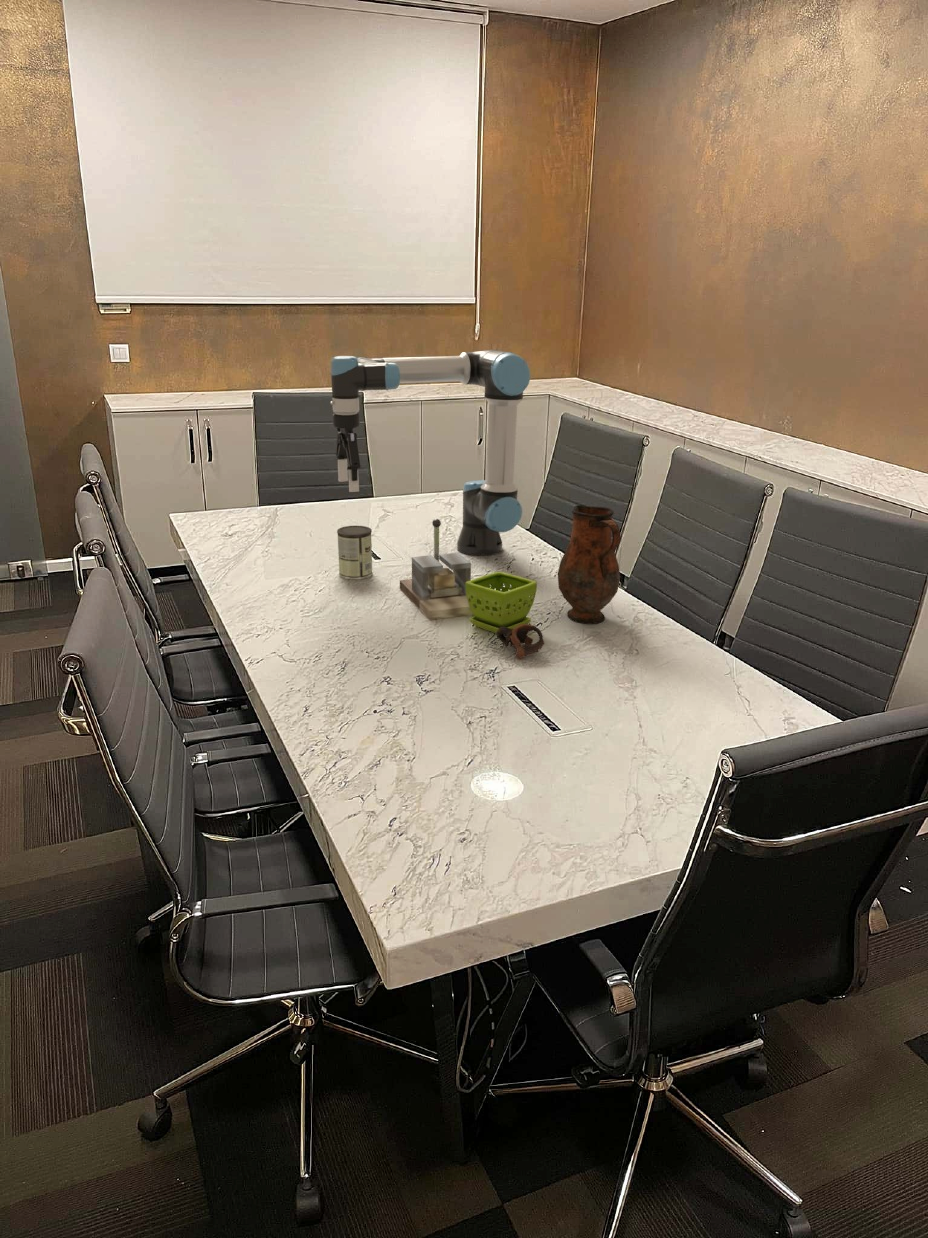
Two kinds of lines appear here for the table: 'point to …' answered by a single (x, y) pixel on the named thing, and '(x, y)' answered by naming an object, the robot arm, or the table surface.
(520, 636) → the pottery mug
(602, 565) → the pitcher
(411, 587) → the bench vise
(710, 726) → the table surface
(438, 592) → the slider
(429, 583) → the block
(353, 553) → the coffee can
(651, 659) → the table surface
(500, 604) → the flower pot
